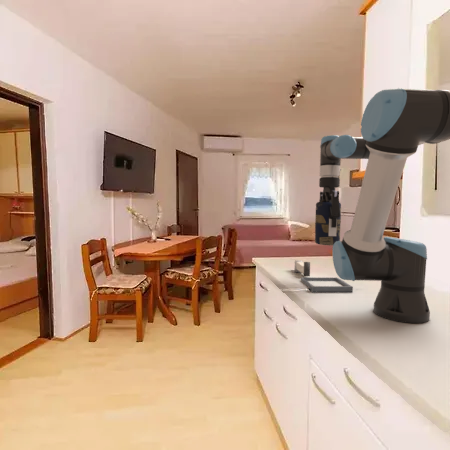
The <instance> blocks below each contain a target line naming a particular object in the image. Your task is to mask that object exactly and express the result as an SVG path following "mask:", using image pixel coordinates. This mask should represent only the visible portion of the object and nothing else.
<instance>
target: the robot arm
mask: <svg viewBox="0 0 450 450" xmlns="http://www.w3.org/2000/svg"><path fill="white" fill-rule="evenodd" d="M360 127H361V128H360V134H361V136H360V137H358V136H351V135H349V134H342V135H335V134H334V135H333V134H331V135H325V136H323V137H321V140H320V146H319V148H320V156H319V158H320V159H319V162H320V163H319V177H320V178H319V181H318V184H319V185H318V186H319V187H320V188H323V189H322V191H320V192H319V201H318V202H321V201H323V200H326V201H324V202H332V207H331V206H330V217H329V236H336V231H337V219H338V217H340V208H339V202H340V191H339V190H336V188H339V187H341V186H340V183H341V182H340V181H341V178H340V176H341V171H342V169H341V161H342V159H344V160H345V159H346V160H348V159H349V160H351V159H352V160H367V163H366V166H365V167H366V168H365V172H364V175H363V179H362V183H361V186H360V187H361V188H360V191H359V195H358V199H357V202H356V208H355V211H354V215H353V219H352V223H351V227H350V230H346V231H345V232H344V233H343V236H342V240H340V241H337V242H335V243H334V245H332V252H331V253H332V263H333V268H334V270H335V272H336V275H337V277H338V278H339V279H341V280H342V281H352V282H355V281H368V282H370V281H372V282H373V281H377V282H379V281H380V288H379V290H378V292H377V295H376V298H375V300H374V302H373V312H374V313H375V314H376V315H378V316H380V317H382V318H385V319H388V320H391V321H396V322H401V323H408V324H420V323H421V324H422V323H427V322H428V321H430V319H431V318H430V316H431V311H430V308H429V304H428V301H427V298H426V294H425V285H426V273H427V272H426V271H427V260H428V256H427V255H428V254H427V250H428V249H427V246H426V244H424V243H423V242H420V241H415V240H410V239H404V238H399V237H398V238H397V237H390V236H389V237H388V236H384V233H385V230H386V227H387V223H388V219H389V216H390V213H391V210H392V207H393V204H394V201H395V197H396V194H397V192H398V188H399V184H400V181H401V179H402V175H403V172H404V170H405V166H406V163H407V159H408V158H409V157H410V156H413V155H415V154H416V153H417V151H418V147H419V146H421V145H424V144H429V145H435V144H439V143H442V142H446V141H449V140H450V90H447V89H421V88H420V89H418V88H417V89H415V88H399V87H398V88H390V89H387V88H386V89H382V90H380V91H378V92H377V93H375V94H374V95H373V96H372V97H371V98H370V100H369V101H368V103H367V104H366V106H365V109H364V111H363V113H362V118H361V121H360ZM383 236H384V237H383Z"/></svg>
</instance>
